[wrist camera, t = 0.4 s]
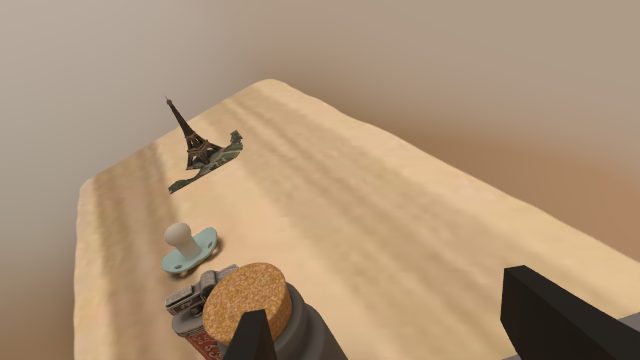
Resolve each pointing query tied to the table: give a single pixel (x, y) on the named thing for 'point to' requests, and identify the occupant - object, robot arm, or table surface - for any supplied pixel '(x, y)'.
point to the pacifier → (187, 247)
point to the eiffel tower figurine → (204, 151)
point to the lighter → (196, 312)
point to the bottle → (269, 314)
